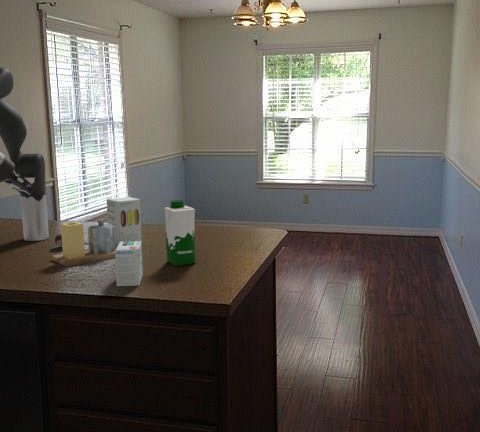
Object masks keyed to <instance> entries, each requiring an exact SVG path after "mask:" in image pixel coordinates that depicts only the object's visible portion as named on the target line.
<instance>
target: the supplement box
mask: <svg viewBox="0 0 480 432" xmlns="http://www.w3.org/2000/svg"><path fill="white" fill-rule="evenodd" d="M106 213H107V215H106V217H107V223H109V224H112V225H114V229H115V246H116V247H117V246H118V244H119V242H128V241H141V242H142V222H141V221H142V220H141V219H142V218H141V216H142V215H141V214H142V213H141V199H140V198H136V197H135V198H134V197H131V196H130V197H129V196H125V197H116V198H114V197H113V198H107V199H106Z"/></svg>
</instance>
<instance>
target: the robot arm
mask: <svg viewBox="0 0 480 432" xmlns="http://www.w3.org/2000/svg"><path fill="white" fill-rule="evenodd" d="M14 82H15V81H14V75H13V74H12V72H11V71H10V70H9V69H8V68H6V67H3V66H2V67H1V66H0V138H1V140H2V142H3V144H4V146H5V148H6V150H7V153H8V156H9V157H8V156H6V155H5V154H4V153H2V152H1V151H0V183H4V184H6V185H7V186H8V187H9V188H11V190H14V191H16V192H18V193H19V194H20V205H21V206H20V207H21V220H22V233H23V240H24V241H27V242H36V241H44V240H48V239H49V237H50V236H49V235H50V234H49V233H50V232H49V220H48V218H49V217H48V207H47V205H48V204H47V191H46V186H47V185H46V184H47V183H46V162H45V157H44V155H42V154H41V153H23V152H21V148H22V146H23V144H24V143H25V140H26V138H27V134H28V133H27V132H28V130H27V127H26V124H25V121H24V119H23V117H22V115H21V113H20V112H18V111H17V110H16V109H15V108H14V107H12V106H11V104H9V103H8V102H6V101H5V100H4V98H5V97H7V96H9V95H10V94H11V93H12V92H13V89H14ZM31 178H32V179H34V181H33V182H32V183H31V182H30V180H28V179H31Z"/></svg>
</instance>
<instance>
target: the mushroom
mask: <svg viewBox="0 0 480 432" xmlns="http://www.w3.org/2000/svg"><path fill="white" fill-rule="evenodd" d="M54 243H55V245H56V246H58V247H62V234H61V232H60V233H58V234H57V235H56V236H55V237H54Z"/></svg>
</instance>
